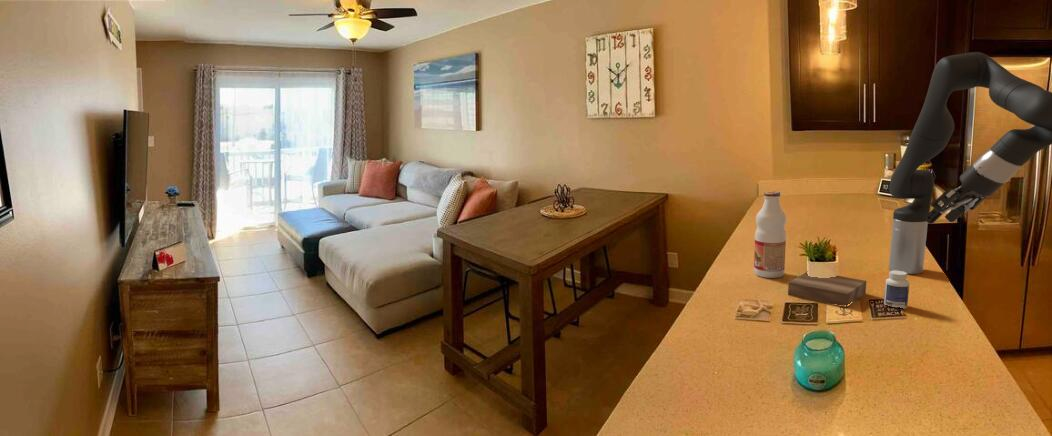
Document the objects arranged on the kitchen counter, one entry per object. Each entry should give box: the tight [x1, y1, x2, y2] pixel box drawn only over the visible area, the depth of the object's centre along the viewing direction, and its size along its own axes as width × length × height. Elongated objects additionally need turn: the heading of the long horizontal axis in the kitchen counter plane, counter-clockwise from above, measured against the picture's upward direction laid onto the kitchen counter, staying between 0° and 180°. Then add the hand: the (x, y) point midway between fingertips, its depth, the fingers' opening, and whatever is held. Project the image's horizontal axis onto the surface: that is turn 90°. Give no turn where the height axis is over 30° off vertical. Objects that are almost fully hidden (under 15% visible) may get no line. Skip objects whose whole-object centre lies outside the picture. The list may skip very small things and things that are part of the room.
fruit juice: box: [753, 190, 787, 279], centre depth 177 cm, size 9×9×28 cm
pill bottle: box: [883, 270, 910, 310], centre depth 147 cm, size 5×5×10 cm
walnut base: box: [787, 271, 867, 306], centre depth 159 cm, size 15×16×4 cm
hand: (938, 220), depth 136 cm, fingers open, 8 cm apart
